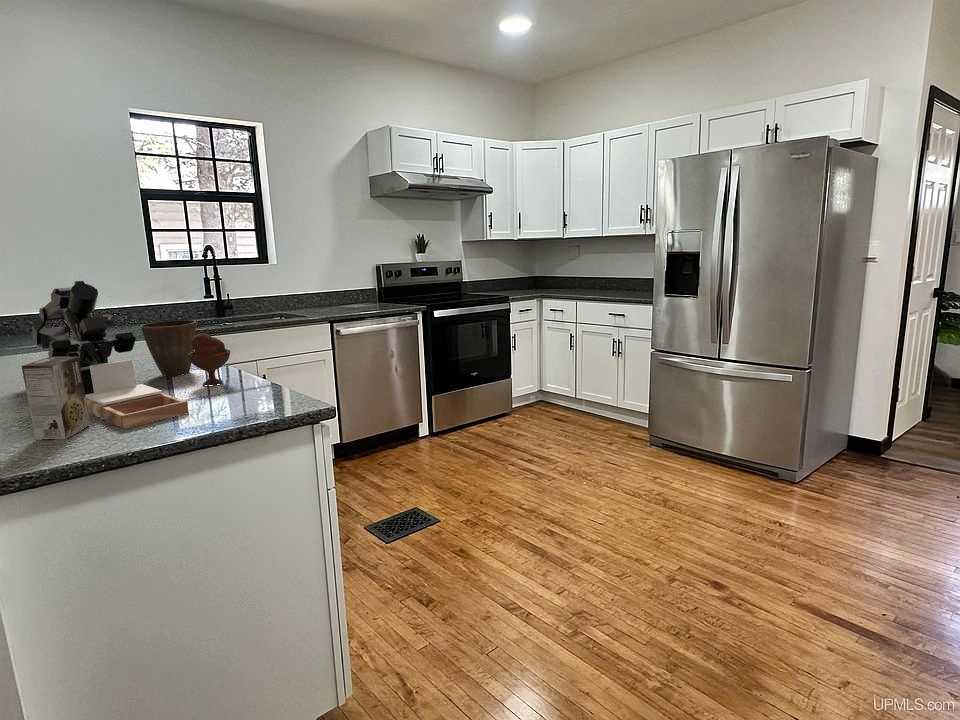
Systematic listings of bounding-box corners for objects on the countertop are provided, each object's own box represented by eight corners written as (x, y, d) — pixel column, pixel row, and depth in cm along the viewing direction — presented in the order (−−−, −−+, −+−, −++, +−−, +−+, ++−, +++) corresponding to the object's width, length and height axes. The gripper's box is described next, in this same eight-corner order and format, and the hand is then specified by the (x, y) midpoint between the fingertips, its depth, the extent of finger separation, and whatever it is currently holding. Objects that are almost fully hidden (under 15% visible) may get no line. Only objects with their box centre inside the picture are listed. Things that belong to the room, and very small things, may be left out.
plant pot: (159, 382, 167) (151, 328, 163) (140, 375, 176) (133, 324, 173) (210, 372, 178) (204, 322, 174) (189, 366, 187) (183, 318, 184)
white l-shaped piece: (84, 397, 138) (79, 367, 137) (141, 386, 148) (137, 357, 147) (103, 405, 131) (98, 373, 129) (162, 393, 141) (158, 363, 139)
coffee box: (61, 426, 127) (49, 356, 123) (92, 425, 127) (80, 355, 124) (33, 440, 118) (19, 365, 114) (66, 439, 118) (52, 364, 115)
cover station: (84, 410, 139) (82, 399, 138) (145, 397, 149) (144, 386, 149) (124, 429, 124) (122, 416, 123) (188, 413, 135) (187, 401, 134)
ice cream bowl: (218, 389, 156) (211, 336, 153) (182, 388, 159) (176, 335, 156) (241, 380, 167) (235, 330, 164) (207, 379, 169) (201, 329, 166)
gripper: (43, 308, 137) (66, 358, 133) (127, 301, 151) (151, 346, 147) (39, 337, 144) (61, 386, 139) (120, 328, 158) (142, 371, 153)
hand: (105, 371), depth 145 cm, fingers closed
